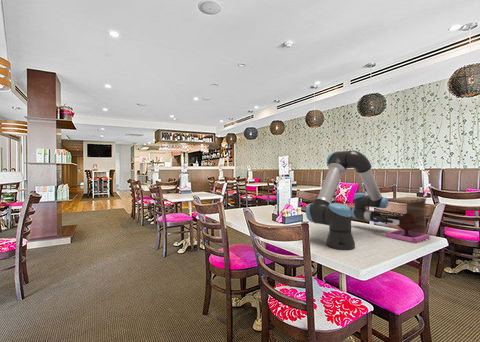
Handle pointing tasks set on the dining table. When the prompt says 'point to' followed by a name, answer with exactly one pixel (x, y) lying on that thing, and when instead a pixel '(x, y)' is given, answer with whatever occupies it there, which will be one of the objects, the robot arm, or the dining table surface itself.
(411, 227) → the ice cream bowl
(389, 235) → the seat plate
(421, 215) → the display shelf
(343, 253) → the dining table surface
